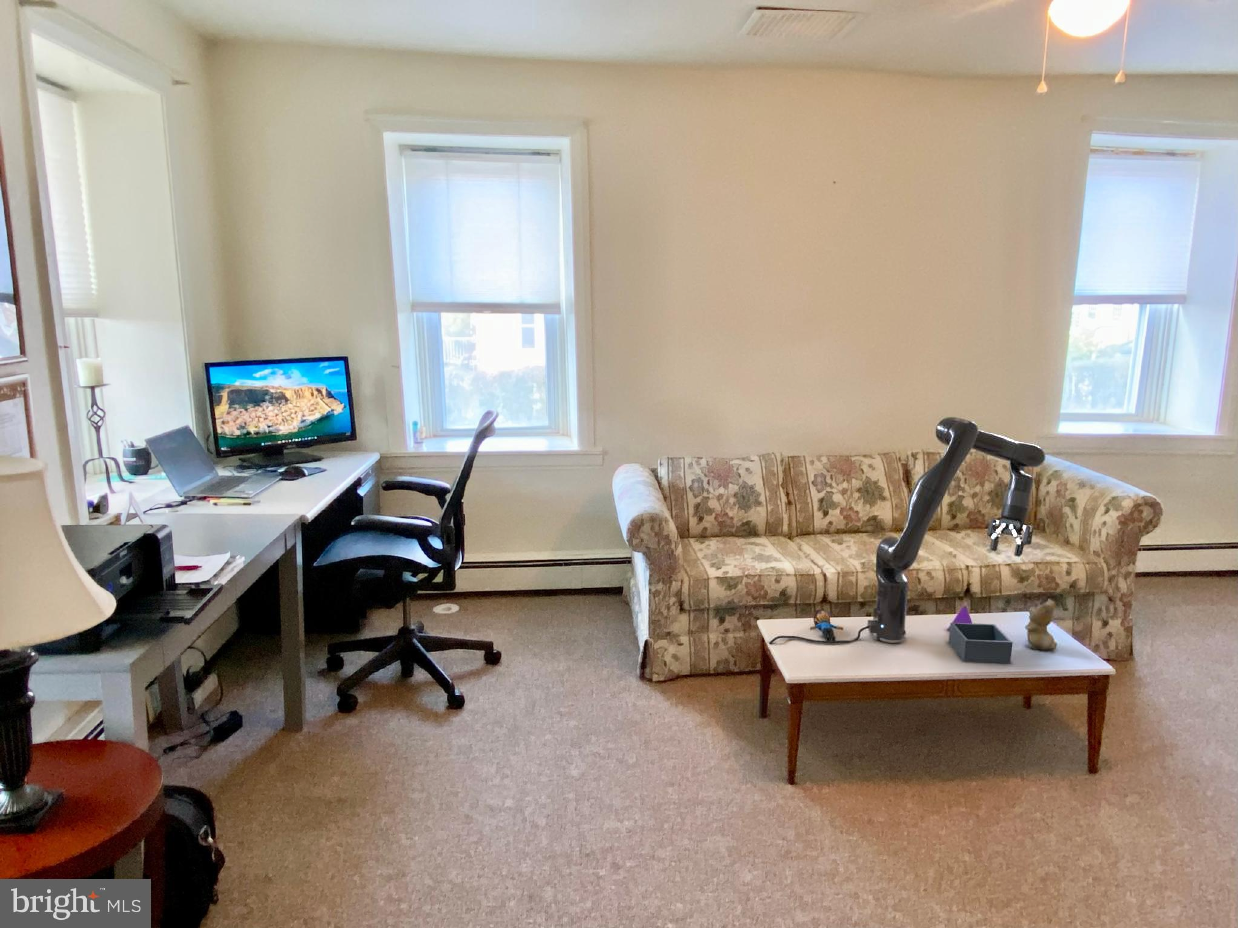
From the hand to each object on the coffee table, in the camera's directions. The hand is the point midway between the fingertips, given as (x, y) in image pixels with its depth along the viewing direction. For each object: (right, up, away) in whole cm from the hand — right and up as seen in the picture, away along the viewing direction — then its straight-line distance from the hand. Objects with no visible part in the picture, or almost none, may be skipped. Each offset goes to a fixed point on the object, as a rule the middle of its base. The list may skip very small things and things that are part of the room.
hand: (1005, 553), depth 246 cm
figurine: (+7, -29, -7) cm, 30 cm away
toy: (-58, -27, +2) cm, 64 cm away
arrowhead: (-13, -27, +2) cm, 30 cm away
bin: (-15, -29, -12) cm, 35 cm away
